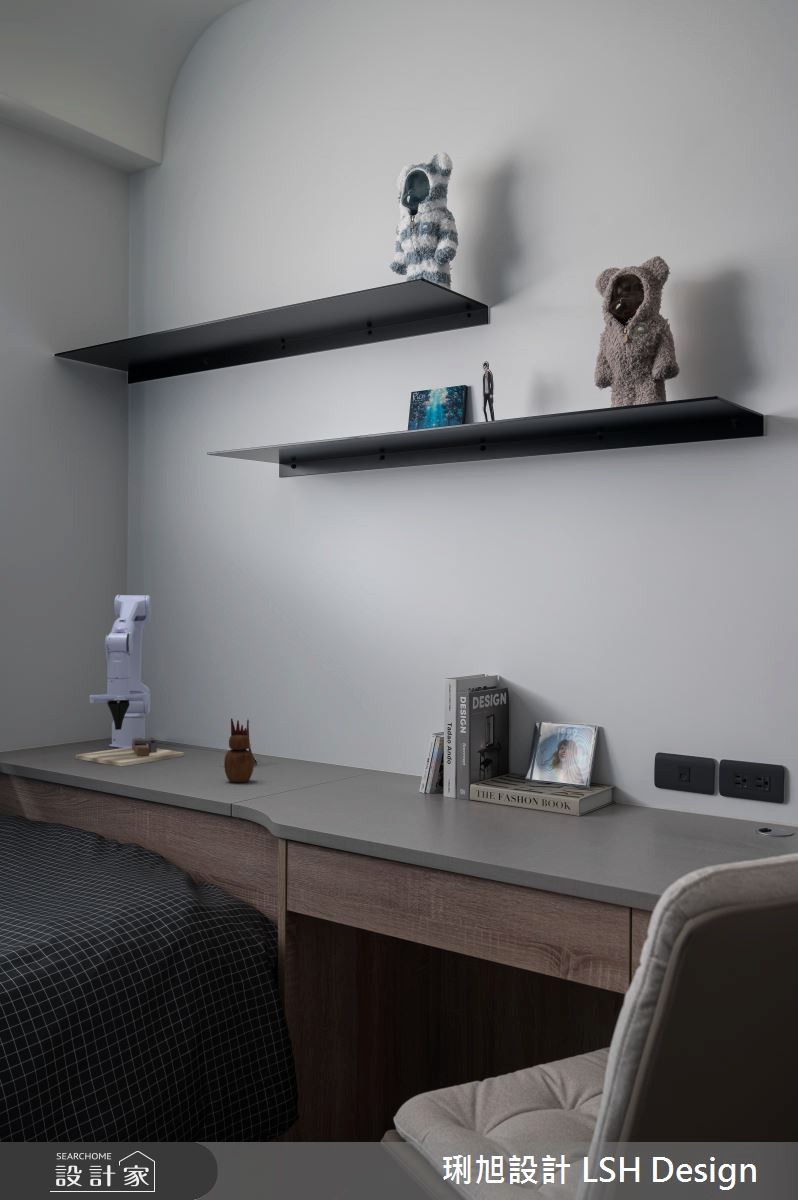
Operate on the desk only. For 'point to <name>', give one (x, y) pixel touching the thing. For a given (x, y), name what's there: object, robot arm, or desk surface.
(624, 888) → the desk surface
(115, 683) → the robot arm
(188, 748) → the desk surface
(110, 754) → the base plate
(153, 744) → the keeper
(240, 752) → the wooden figurine
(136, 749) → the wooden stick
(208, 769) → the desk surface
